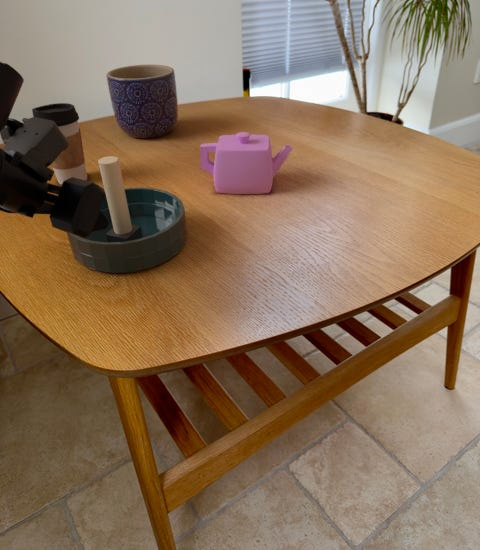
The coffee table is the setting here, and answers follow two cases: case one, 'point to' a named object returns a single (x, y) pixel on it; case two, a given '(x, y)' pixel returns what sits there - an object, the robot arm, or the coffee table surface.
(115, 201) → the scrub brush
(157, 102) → the planter
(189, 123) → the coffee table surface
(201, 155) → the teapot
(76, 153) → the coffee cup
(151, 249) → the basin
